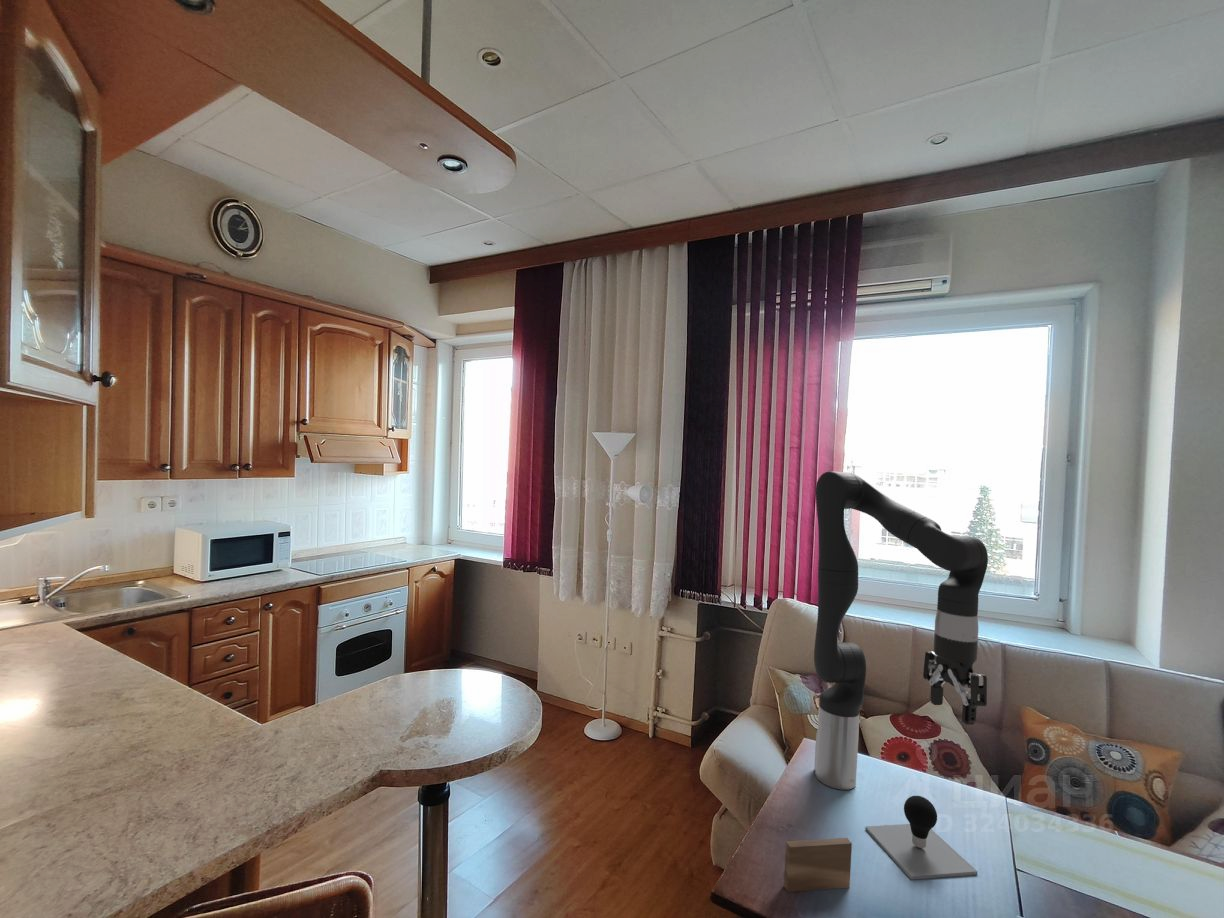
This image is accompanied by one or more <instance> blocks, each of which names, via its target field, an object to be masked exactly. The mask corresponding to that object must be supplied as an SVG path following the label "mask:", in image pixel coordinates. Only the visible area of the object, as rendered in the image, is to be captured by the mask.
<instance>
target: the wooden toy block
mask: <svg viewBox="0 0 1224 918" xmlns="http://www.w3.org/2000/svg"><path fill="white" fill-rule="evenodd" d="M852 846H853V843H852V842H851V840H850V839H849V838H848V837H839V838H837V837H836V838H821V839H820V838H819V839H818V838H817V839H805V840H803V839H802V840H788V841H787V840H786V841H785V851H784V852H785V853H784V854H785V855H784V874H783V887H784V889H785V891H787V893H795V892H796V893H797V892H808V891H821V890H831V889H830V888H833V889H832V890H834V889H835V888H836V889H845V888H846V889H847V888H851V887H850V885H851V883H850V882H851V867H852V866H851V865H852V851H853V850H852V848H853V847H852Z"/></svg>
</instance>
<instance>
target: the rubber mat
mask: <svg viewBox="0 0 1224 918" xmlns="http://www.w3.org/2000/svg"><path fill="white" fill-rule="evenodd" d="M864 829H866V830H867V831H868V832H869V833H870V834H871V835H870V834H869V833H868V832H867V833H868V834H869V835H870V837H872V839H874V841H877V842H878V843H879V844H878V843H877V842H876V843H877V844H878V845H879V846H880V847H881V848H882V849H883V850H884V852H886V854H887V855H888V856H889V857H890V858H891V859H892V860H893V861H894V863H895V864H896V865H897V866H898V867H899V868H900V869H901V870H902V871H903V872H904V874H906V875H907V877H908V878H909V879H910V880H921V879H923V880H924V879H925V880H926V879H936V878H948V877H949V878H951V877H961V876H962V877H964V876H975V875H978V870H977V869H975V867H974V866H972V865H971V864H970V863H969V862H968V861H967V860H966V859H965V858H963V857H962V855H960V854H959V853H958V852H957V851H956V850H955V849H954V848H953V847H951V846H950V844H949V843H947V842H946V841H945V840H944V839H943V838H942V837H940V835H938V834H937V833H936V832H935V831H934V830H933V828H932V829H930V831H929V833H928V836H927V839H926V847H925V848H921V849H918V848H917V847H916V846H915V845H914V844H913V842H912V832H911V826H910V823H904V824H903V823H902V824H901V823H899V824H888V825H872V826H871V825H869V826H867V825H866V826H865V828H864Z"/></svg>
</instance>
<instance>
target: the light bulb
mask: <svg viewBox="0 0 1224 918" xmlns="http://www.w3.org/2000/svg"><path fill="white" fill-rule="evenodd" d="M903 812H904V816H905V819H907V821H908V824H910V826H911V832H912V842H913V844H914V845H915V846H916V847H917V848H918V849H921V848H925V847H926V839H927V836H928V833H929V831H930V829H932V830H933V828H934V827H935V826H936V824H937V821H938V813H937V810H936V808H935V805H933V803H932V802H931V801H930V800H929V799H927V798H926V797H924V796H921V795H912V796H909V797H908V798H907V799H906V800H905V801H904V804H903Z"/></svg>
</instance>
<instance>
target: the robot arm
mask: <svg viewBox="0 0 1224 918" xmlns="http://www.w3.org/2000/svg"><path fill="white" fill-rule="evenodd" d="M815 504H816V515H817V516H816V517H817V525H818V526H817V527H818V528H817V529H818V564H817V566H818V567H817V588H818V589H817V590H818V591H817V593H818V595H817V601H818V602H817V618H816V619H817V620H816V632H815V640H814V647H813V648H814V649H813V663H814V670H815V673H816V674H817V677H818V678H819V679H820V680H821V681H822V682H824V683H828V684H829V683H834V684H833V685H832V686H831V687H829V688H827V689H824V690H823V691H821V693H820V694H819V697H818V717H817V718H818V721H817V731H816V733H815V746H814V747H815V748H814V750H815V752H814V768H813V769H814V770H815V771H814V773H815V777H816V779H817V780H819V782H821V783H822V784H823V785H825V786H828V787H830V788H833V789H837V790H851V789H854V788H855V787H856V784H857V772H858V771H857V770H858V752H859V732H860V714H861V713H860V710H861V707H862V705H863V701H864V697H865V696H864V695H865V694H864V693H865V687H866V686H865V685H866V677H867V660H866V657H865V654H864V651H863V650H862V648H861V646H859V644H857V643H855V642H851V641H850V642H849V641H848V642H841V641H839V639H838V638H839V632H840V631H839V630H840V626H841V624H842V621H843V619H844V618H845V615H846V614H847V612H848V611H849V609H850V608H851V605H852V604H853V602H854V600H855V599H856V596H857V593H858V591H859V562H858V559H857V556H856V553H855V551H854V549H853V547H852V543H851V542H850V540H849V538H848V535H847V531H846V527H845V510H849V509H850V510H851V509H852V510H855V511H858V512H861V513H864V514H866V515H868V516H870V517H871V518H873V519H875V520H876V521H878V523H879V524H880V525H881V526H882V527H883V528H884V529H885V531H887V532H888V533H889V534H891V535H892V536H894V537H896V538H897V539H898V540H900V541H902V542H904V543H906V544H908V545H909V546H911V547H912V548H915V549H916V550H918V551H919V552H920V554H922V555H923V556H924V557H925V558H926V559H928V561H930V562H931V563H933V564H934V565H935V566H937V567H939V568H941V569H943V570H945V571H949V574H948V577H947V579H946V580H944V581H942V582H941V583H940V584H939V586H938V589H937V605H936V606H937V607H936V615H935V620H934V635H933V651H925V653H924V664H923V673H922V674H923V675H922V677H923V679H924V680H927V681H928V684H929V685H930V696H929V698H930V703H931V704H932V705H934V706H941V705H943V703H944V702H943V701H944V687H943V685H944V684H945V683H948V684H950V685H951V686H952V687H954V689H955V691H956V692H957V694H959V695H960V698H961V700H962V703H963V704H962V712H961V713H962V714H961V722H962V723H963V724H964V725H968V726H969V725H974V724H975V723H976V721H977V707H986V706H988V705H987V703H988V701H987V699H988V698H987V697H988V694H987V691H988V681H987V680H988V677H987V676H986V675H985V674H984V673H983V674H981V673H980V674H979V673H976V672H975V671H974V668H973V665H974V664H975V663H976V661H977V660H978V646H979V643H978V642H979V619H978V616H979V614H978V613H979V593H980V592H981V591H980V590H981V588H982V586H983V583H984V579H985V575H986V573H987V568H988V564H989V563H988V562H989V555H988V549H987V547H986V545H985V544H984V543H983V541H981V540H980V539H978V538H977V537H975V536H971V535H956V536H953V535H951V534H949V533H947V532H944V531H943V530H942V527H941V526H940V525H939V523H937V522H936V521H934V520H933V519H931V518H929V517H927V516H925V515H923V514H922V513H919V512H917V511H915V510H912V508H910V507H907V506H905V505H903V504H901V503H899V502H897V501H896V500H893V499H892V498H890V497H889V496H888V495H885V494H884V493H882V492H881V491H880V490H878V489H877V488H876V487H874V486H872V485H871V484H870V483H869V482H867V481H866V480H865V479H863V478H862V477H861V476H859V475H857V474H855V473H852V472H847V471H845V472H844V471H843V472H842V471H836V470H835V471H830V470H829V471H826V472H825V471H824V472H823V473H822V474H821V475H819V477H818V479H817V482H816V486H815ZM838 641H839V642H838ZM930 671H931V672H930ZM965 686H967V687H965ZM968 695H969V696H968ZM978 695H979V697H978ZM978 698H979V699H978Z"/></svg>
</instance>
